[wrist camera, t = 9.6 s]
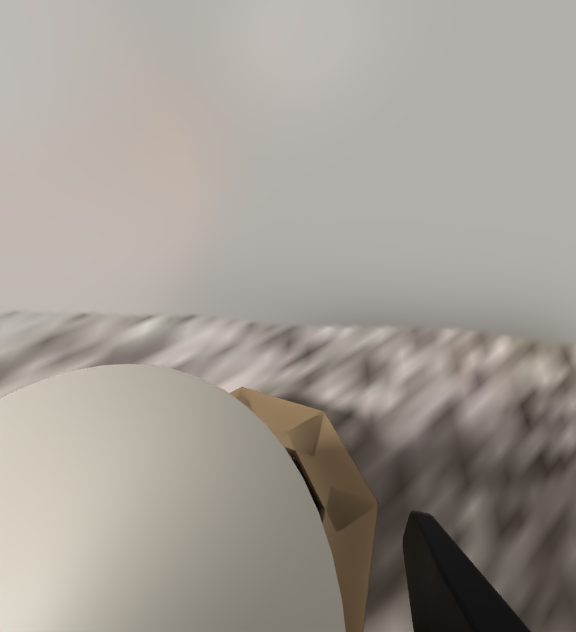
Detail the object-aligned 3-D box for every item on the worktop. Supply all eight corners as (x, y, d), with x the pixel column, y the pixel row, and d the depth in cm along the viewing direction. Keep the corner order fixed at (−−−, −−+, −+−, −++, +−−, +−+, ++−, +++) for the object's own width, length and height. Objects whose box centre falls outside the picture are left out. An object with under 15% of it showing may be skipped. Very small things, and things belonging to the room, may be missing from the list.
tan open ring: (332, 716, 11) (345, 785, 8) (102, 609, 12) (53, 640, 10) (371, 439, 16) (387, 430, 13) (203, 388, 17) (188, 370, 15)
